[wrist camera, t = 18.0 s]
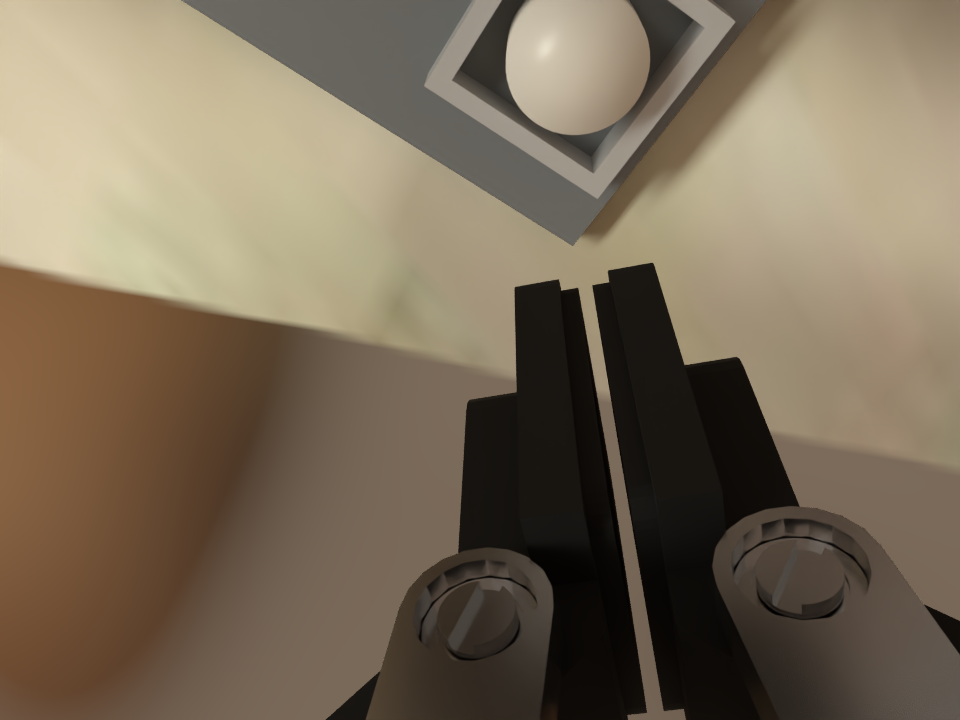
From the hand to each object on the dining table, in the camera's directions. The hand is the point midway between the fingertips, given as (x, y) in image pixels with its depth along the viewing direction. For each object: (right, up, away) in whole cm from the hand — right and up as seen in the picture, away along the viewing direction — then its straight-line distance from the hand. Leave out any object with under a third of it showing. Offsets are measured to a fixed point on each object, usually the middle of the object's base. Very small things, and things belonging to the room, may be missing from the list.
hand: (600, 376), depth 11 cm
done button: (+1, +9, +15) cm, 18 cm away
